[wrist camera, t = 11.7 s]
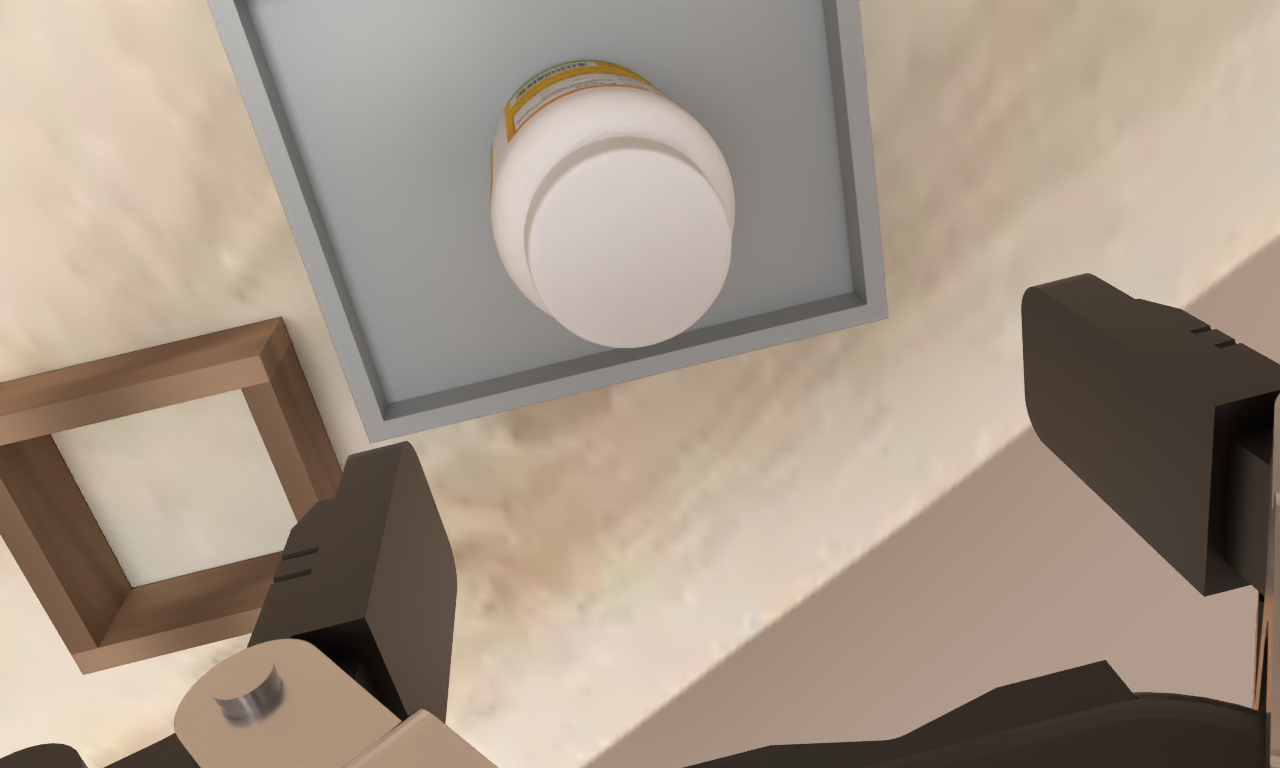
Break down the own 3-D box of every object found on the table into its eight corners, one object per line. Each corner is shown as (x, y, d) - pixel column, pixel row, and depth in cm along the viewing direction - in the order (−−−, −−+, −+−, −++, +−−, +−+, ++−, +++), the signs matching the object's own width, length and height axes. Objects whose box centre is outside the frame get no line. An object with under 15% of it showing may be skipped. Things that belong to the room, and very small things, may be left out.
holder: (281, 316, 29) (259, 355, 26) (372, 550, 32) (361, 605, 30) (-8, 385, 28) (-61, 431, 26) (118, 613, 32) (83, 674, 29)
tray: (818, -157, 25) (843, -165, 24) (865, 296, 31) (888, 318, 29) (220, -25, 25) (198, -24, 23) (377, 414, 30) (370, 443, 28)
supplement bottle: (632, 277, 29) (694, 419, 20) (461, 206, 27) (447, 327, 18) (712, 106, 27) (819, 180, 18) (535, 21, 25) (558, 58, 17)
